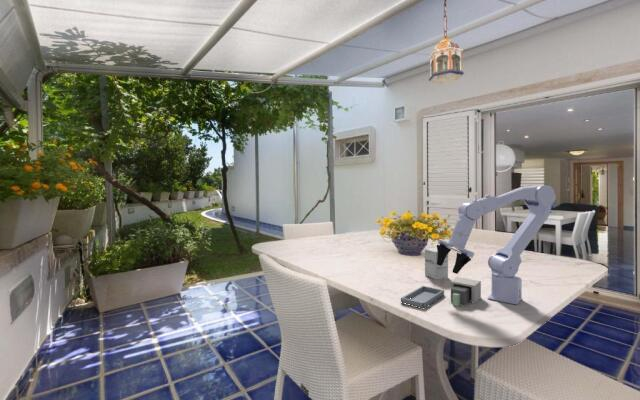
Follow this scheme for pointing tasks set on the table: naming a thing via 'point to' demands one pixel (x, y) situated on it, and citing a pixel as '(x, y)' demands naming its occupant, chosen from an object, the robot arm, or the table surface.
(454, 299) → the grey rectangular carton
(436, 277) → the supplement box
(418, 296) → the tray
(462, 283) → the sleeve
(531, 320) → the table surface
